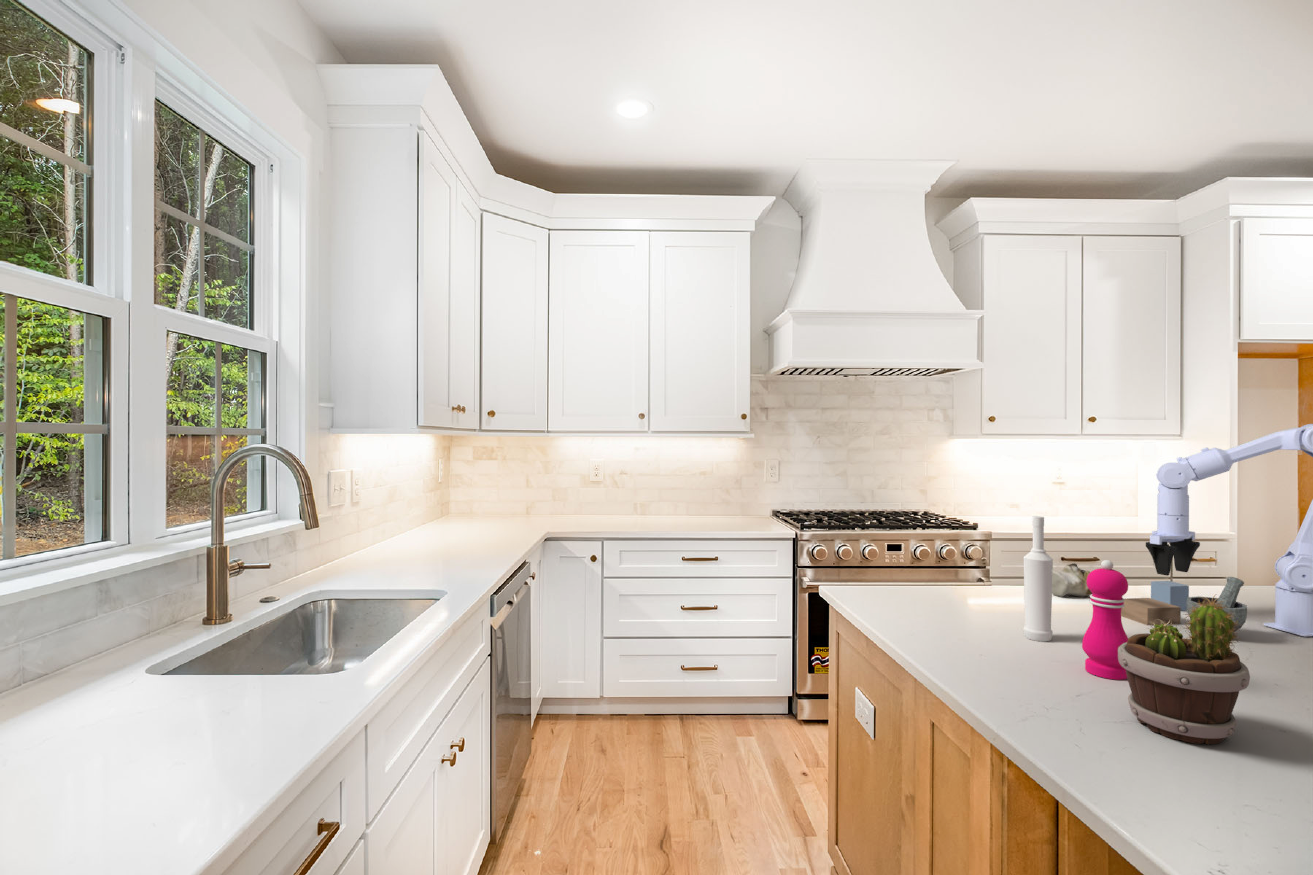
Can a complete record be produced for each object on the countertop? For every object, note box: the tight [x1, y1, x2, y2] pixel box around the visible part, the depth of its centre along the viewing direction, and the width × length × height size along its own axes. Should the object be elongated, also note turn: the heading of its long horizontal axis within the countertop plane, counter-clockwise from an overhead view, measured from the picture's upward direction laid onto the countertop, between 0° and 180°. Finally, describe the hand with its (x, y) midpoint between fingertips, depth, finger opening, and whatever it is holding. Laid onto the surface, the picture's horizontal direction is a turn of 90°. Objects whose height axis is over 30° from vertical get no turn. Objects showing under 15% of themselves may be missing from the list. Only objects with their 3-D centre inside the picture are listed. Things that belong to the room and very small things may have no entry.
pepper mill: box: [1081, 559, 1129, 681], centre depth 112 cm, size 7×7×20 cm
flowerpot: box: [1118, 595, 1251, 745], centre depth 91 cm, size 14×15×20 cm
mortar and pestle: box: [1186, 576, 1248, 641], centre depth 133 cm, size 11×9×12 cm
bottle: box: [1022, 515, 1054, 643], centre depth 131 cm, size 5×5×25 cm
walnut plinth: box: [1121, 597, 1182, 626], centre depth 144 cm, size 8×8×4 cm
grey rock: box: [1052, 563, 1092, 598], centre depth 165 cm, size 11×9×15 cm
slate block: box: [1150, 580, 1190, 612], centre depth 153 cm, size 5×5×6 cm
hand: (1172, 572), depth 148 cm, fingers open, 7 cm apart
